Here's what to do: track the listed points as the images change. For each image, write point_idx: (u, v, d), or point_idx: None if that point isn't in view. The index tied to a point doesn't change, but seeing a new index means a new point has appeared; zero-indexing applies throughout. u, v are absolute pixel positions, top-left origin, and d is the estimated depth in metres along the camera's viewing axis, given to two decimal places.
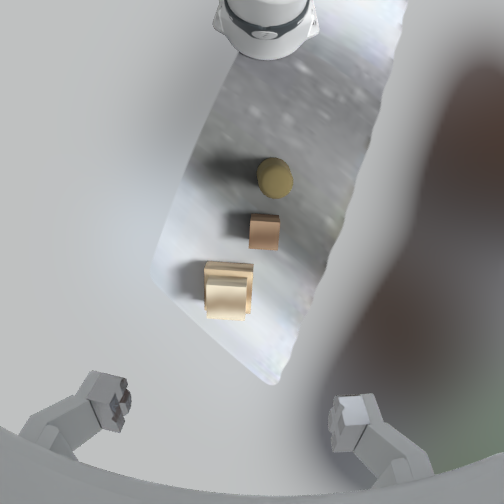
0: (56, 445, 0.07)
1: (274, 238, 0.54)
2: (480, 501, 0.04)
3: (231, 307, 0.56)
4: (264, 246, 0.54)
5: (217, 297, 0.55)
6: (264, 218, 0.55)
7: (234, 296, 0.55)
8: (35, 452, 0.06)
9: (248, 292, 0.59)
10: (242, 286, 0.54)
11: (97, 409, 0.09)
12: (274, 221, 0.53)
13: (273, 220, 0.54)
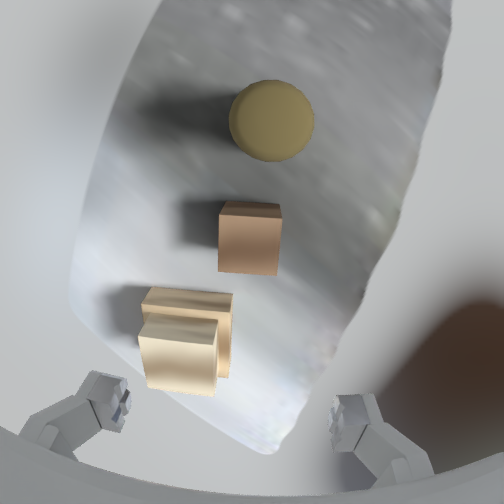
0: (56, 445, 0.07)
1: (269, 251, 0.26)
2: (480, 501, 0.04)
3: (187, 376, 0.28)
4: (249, 268, 0.26)
5: (160, 358, 0.27)
6: (250, 210, 0.27)
7: (191, 358, 0.27)
8: (35, 452, 0.06)
9: (223, 346, 0.31)
10: (206, 342, 0.27)
11: (97, 409, 0.09)
12: (270, 217, 0.25)
13: (267, 214, 0.26)
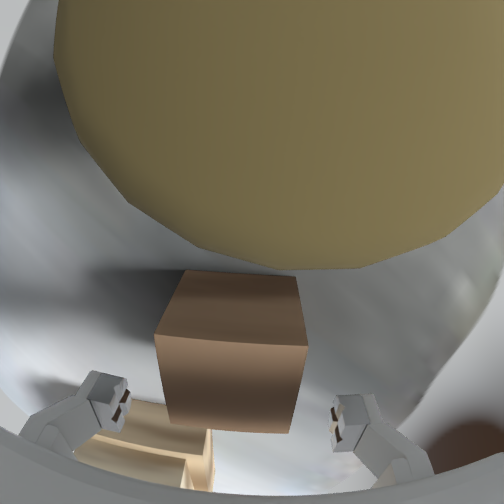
0: (56, 445, 0.07)
1: (275, 402, 0.11)
2: (480, 501, 0.04)
3: None
4: (231, 423, 0.11)
5: None
6: (231, 308, 0.11)
7: None
8: (35, 452, 0.06)
9: (198, 483, 0.16)
10: None
11: (97, 409, 0.09)
12: (279, 340, 0.10)
13: (272, 324, 0.11)
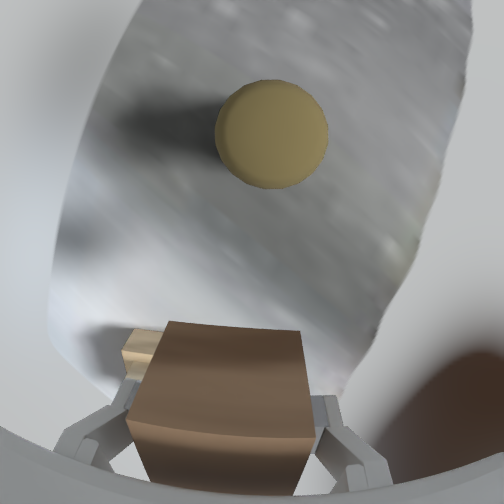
0: (96, 459, 0.07)
1: (273, 483, 0.08)
2: (480, 501, 0.04)
3: None
4: None
5: None
6: (221, 382, 0.09)
7: None
8: (35, 452, 0.06)
9: None
10: None
11: None
12: (280, 431, 0.07)
13: (272, 406, 0.08)
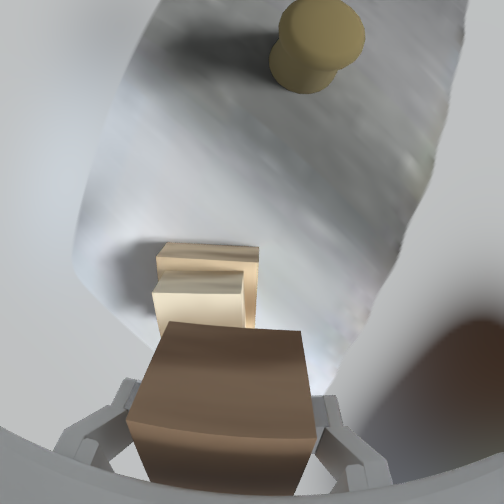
0: (96, 459, 0.07)
1: (274, 483, 0.08)
2: (480, 501, 0.04)
3: None
4: None
5: (180, 319, 0.24)
6: (221, 383, 0.09)
7: (216, 315, 0.24)
8: (35, 452, 0.06)
9: (249, 306, 0.28)
10: (233, 292, 0.24)
11: None
12: (280, 432, 0.07)
13: (273, 407, 0.08)
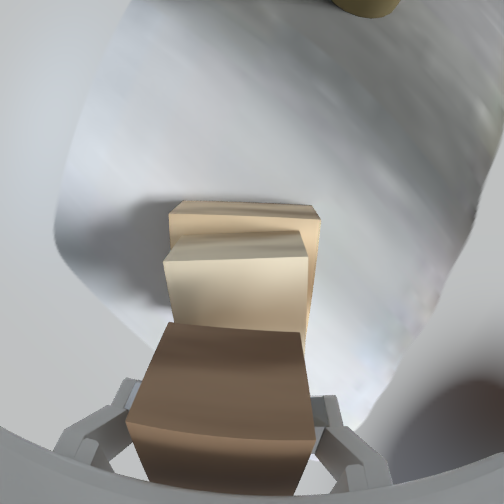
0: (96, 459, 0.07)
1: (273, 485, 0.08)
2: (480, 501, 0.04)
3: None
4: None
5: (208, 304, 0.16)
6: (221, 384, 0.09)
7: (266, 294, 0.15)
8: (35, 452, 0.06)
9: None
10: (295, 255, 0.15)
11: None
12: (280, 433, 0.07)
13: (272, 408, 0.08)
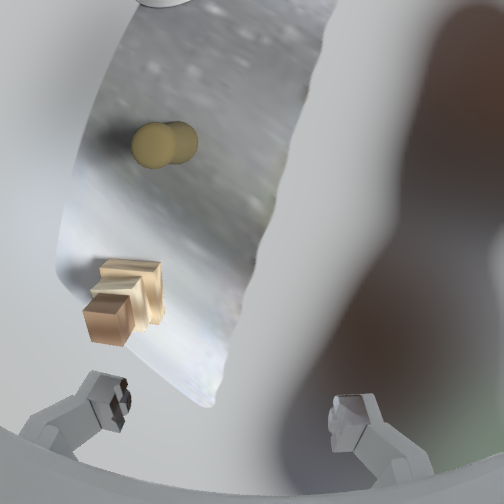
0: (56, 445, 0.07)
1: (114, 332, 0.36)
2: (480, 501, 0.04)
3: None
4: (106, 341, 0.37)
5: None
6: (103, 304, 0.37)
7: None
8: (35, 452, 0.06)
9: (152, 298, 0.45)
10: (129, 288, 0.40)
11: (97, 409, 0.09)
12: (109, 313, 0.36)
13: (111, 309, 0.36)
